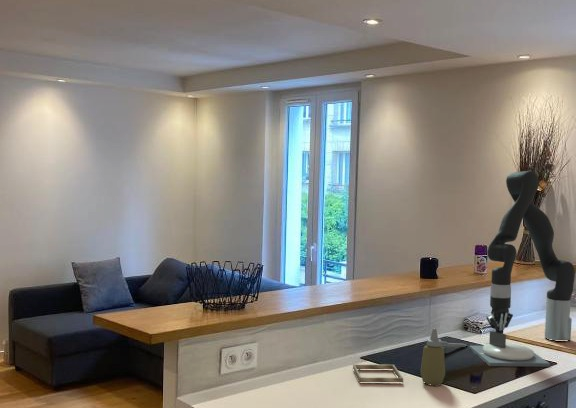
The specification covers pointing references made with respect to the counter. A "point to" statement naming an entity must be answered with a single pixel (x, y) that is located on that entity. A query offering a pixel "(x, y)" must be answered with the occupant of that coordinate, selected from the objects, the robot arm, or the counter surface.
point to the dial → (506, 348)
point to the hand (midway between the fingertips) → (499, 339)
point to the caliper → (451, 345)
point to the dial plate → (494, 361)
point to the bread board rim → (377, 379)
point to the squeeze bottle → (433, 361)
